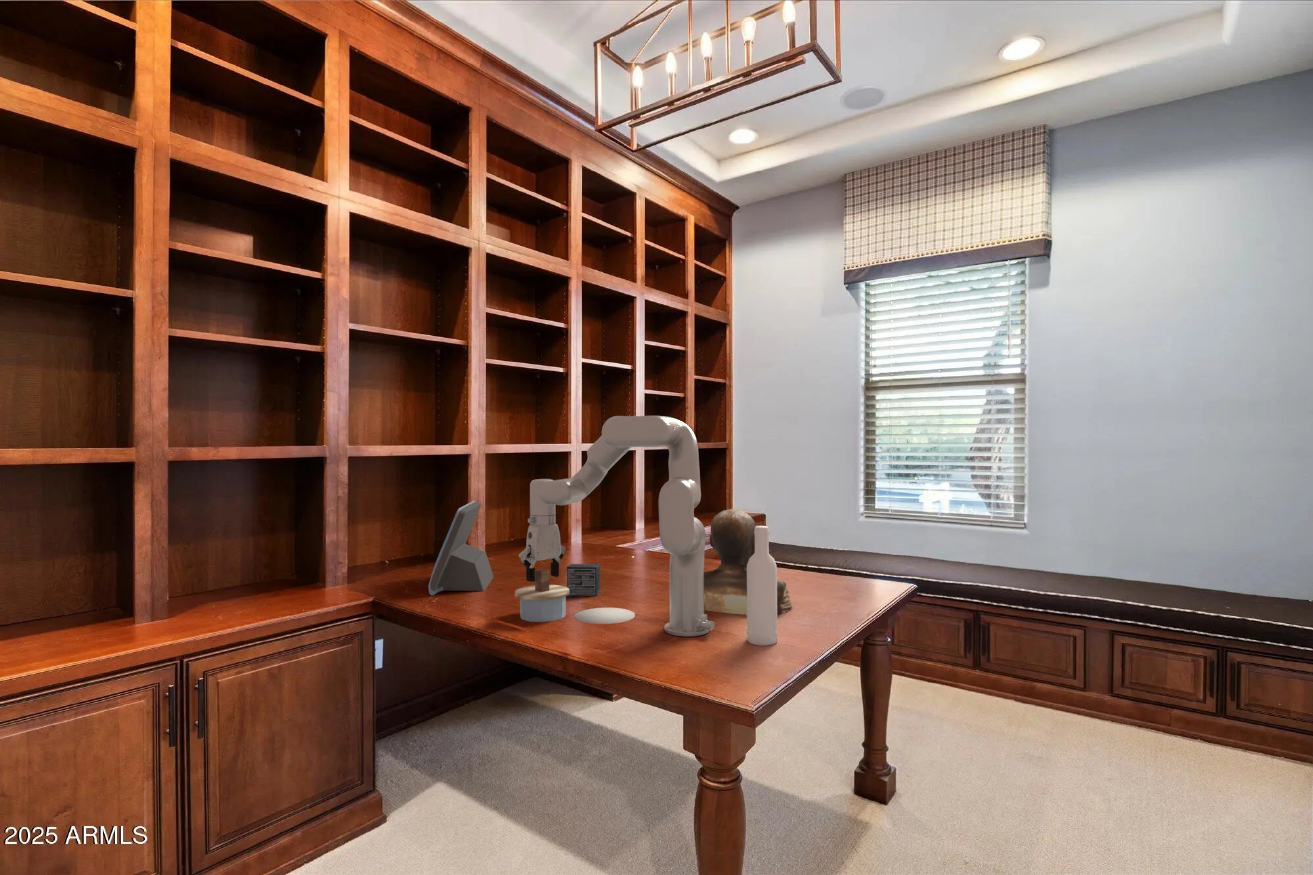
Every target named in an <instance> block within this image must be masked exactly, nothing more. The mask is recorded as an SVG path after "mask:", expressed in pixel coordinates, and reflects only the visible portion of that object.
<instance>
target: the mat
mask: <svg viewBox="0 0 1313 875" xmlns="http://www.w3.org/2000/svg"><path fill="white" fill-rule="evenodd" d="M635 616H636V613H635V612H634V611H631V610H629V609H625V608H620V607H595V608H590V609H584V610H581V611H578V612H577V613H575V614H574V619H576V620H577V621H578V622H581V623H585V624H592V625H609V624H610V625H611V624H612V625H613V624H620V623H623V622H624V623H625V622H628V621H631V620H632V619H634V618H635Z"/></svg>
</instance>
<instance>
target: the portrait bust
mask: <svg viewBox="0 0 1313 875" xmlns="http://www.w3.org/2000/svg"><path fill="white" fill-rule="evenodd" d="M756 526H757V525H756V522H755V520H754V519H753V518H752V516H750V515H749V514H748V513H747V512H745V511H743V510H739V509H735V508H729V509H726V510H725V509H724V510H722V511H720V512H719V513H717V514H716V515H715V516H714V517H713V519H712V520H711V524H710V536H709V544H710V546H711V548H712V549H714V550H715V551H716V552H717V554H718V556H719V557H720V565H718V567H717V568H715V569H713V570H709V571H708V570H707V571H704V611H707V612H708V611H709V612H716V613H725V614H734V615H744V614H745V615H746V616H747V564H748V561H749V558H750V557H751V556H752V555H753V554H754V553H755V534H754V531H755V527H756ZM791 608H792V609H793V603H792V599H791V596H790V592H789V590H788V586H787V583H786V582H785V581H780V580H777V615H782V614H781V613H783V614H785V613H784V612H786V611H787V610H789V611H790V609H791ZM792 609H791V610H792ZM787 612H788V611H787ZM787 612H786V613H787Z"/></svg>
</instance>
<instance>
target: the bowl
mask: <svg viewBox="0 0 1313 875" xmlns="http://www.w3.org/2000/svg"><path fill="white" fill-rule="evenodd" d="M566 615H567V596H565V597H562V598H558V599H552V600H540V601H535V600H523V599H519V617H520V619H521V620H523V621H526V622H531V623H534V622H535V623H545V622H554V621H557V620H562V619H563V618H565V617H566Z"/></svg>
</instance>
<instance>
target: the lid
mask: <svg viewBox="0 0 1313 875" xmlns="http://www.w3.org/2000/svg"><path fill="white" fill-rule="evenodd" d="M567 595H569V588H567V586H564V585H557V584H550V570H549V569H544V568H541V569H537V570H536V569H535V581H534V585H528V586H523V587H520V588H517V589H515V591H514V597H515V598H517V599H519V600H520V599H523V600H535V601H540V600H552V599H558V598H562V597H565V596H566V597H567Z"/></svg>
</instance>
